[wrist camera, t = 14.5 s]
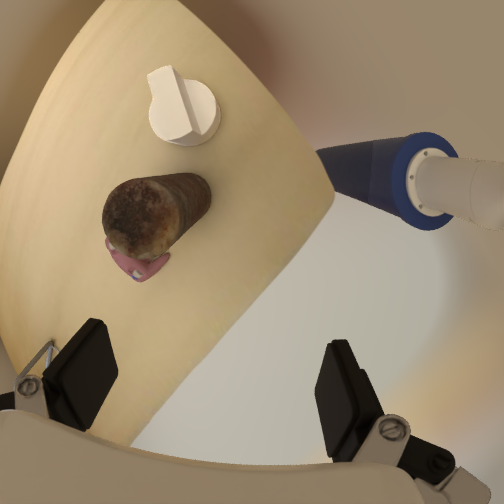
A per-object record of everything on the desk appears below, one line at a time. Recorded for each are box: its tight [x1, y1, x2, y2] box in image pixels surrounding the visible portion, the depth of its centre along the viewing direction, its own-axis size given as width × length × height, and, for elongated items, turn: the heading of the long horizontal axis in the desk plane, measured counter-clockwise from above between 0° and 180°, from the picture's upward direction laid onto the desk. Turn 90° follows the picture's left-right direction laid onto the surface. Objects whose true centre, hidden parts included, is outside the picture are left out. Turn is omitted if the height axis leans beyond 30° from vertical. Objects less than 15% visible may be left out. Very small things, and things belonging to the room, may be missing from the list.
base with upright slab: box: [147, 65, 221, 146], centre depth 31 cm, size 9×9×12 cm
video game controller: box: [105, 238, 169, 282], centre depth 40 cm, size 10×5×7 cm, turn 38°
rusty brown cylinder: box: [102, 173, 211, 260], centre depth 31 cm, size 8×7×20 cm
